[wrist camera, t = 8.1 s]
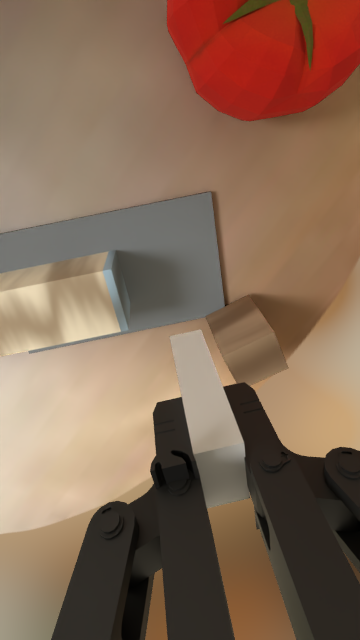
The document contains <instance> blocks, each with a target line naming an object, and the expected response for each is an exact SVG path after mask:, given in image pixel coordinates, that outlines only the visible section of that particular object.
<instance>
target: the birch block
mask: <svg viewBox="0 0 360 640" xmlns="http://www.w3.org/2000/svg"><path fill="white" fill-rule="evenodd" d="M129 318H130V300H129V296H128V293H127V289H126V285H125V282H124V278H123V274H122V271H121V267H120V263H119V260H118V256H117V253H116V250H113V251H108V252H103V253H98V254H93V255H88V256H83V257H78V258H73V259H69V260H64V261H59V262H54V263H49V264H44V265H39V266H34V267H29V268H24V269H19V270H14V271H9V272H5V273H0V356H6V355H11V354H16V353H21V352H25V351H30V350H35V349H40V348H45V347H50V346H54V345H59V344H64V343H69V342H74V341H79V340H83V339H88V338H93V337H98V336H103V335H108V334H112V333H117V332H122V331H127V330H129Z"/></svg>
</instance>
